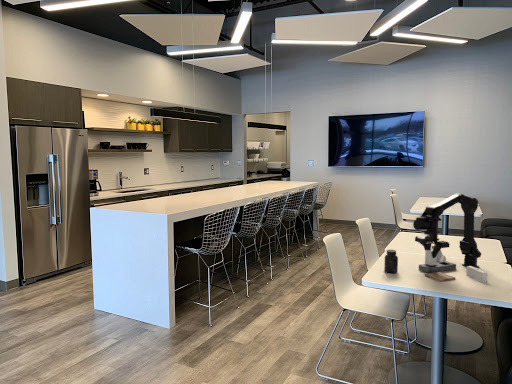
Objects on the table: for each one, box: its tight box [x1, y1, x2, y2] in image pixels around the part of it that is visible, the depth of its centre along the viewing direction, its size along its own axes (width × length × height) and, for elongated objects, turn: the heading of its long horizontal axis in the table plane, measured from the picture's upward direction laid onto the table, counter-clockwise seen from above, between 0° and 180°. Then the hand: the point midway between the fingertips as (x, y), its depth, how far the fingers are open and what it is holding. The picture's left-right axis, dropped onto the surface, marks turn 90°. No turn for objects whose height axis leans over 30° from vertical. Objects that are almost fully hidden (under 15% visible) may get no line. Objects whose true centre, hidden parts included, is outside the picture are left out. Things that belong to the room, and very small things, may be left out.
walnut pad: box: [424, 272, 456, 283], centre depth 197 cm, size 10×10×1 cm
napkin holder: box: [466, 266, 488, 283], centre depth 195 cm, size 15×11×6 cm
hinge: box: [431, 247, 447, 262], centre depth 229 cm, size 17×5×10 cm, turn 148°
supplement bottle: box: [383, 249, 399, 275], centre depth 206 cm, size 7×7×12 cm
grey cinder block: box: [418, 260, 457, 274], centre depth 211 cm, size 20×7×3 cm, turn 112°
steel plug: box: [424, 249, 437, 266], centre depth 208 cm, size 4×4×8 cm
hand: (430, 257), depth 208 cm, fingers closed on steel plug, 4 cm apart
